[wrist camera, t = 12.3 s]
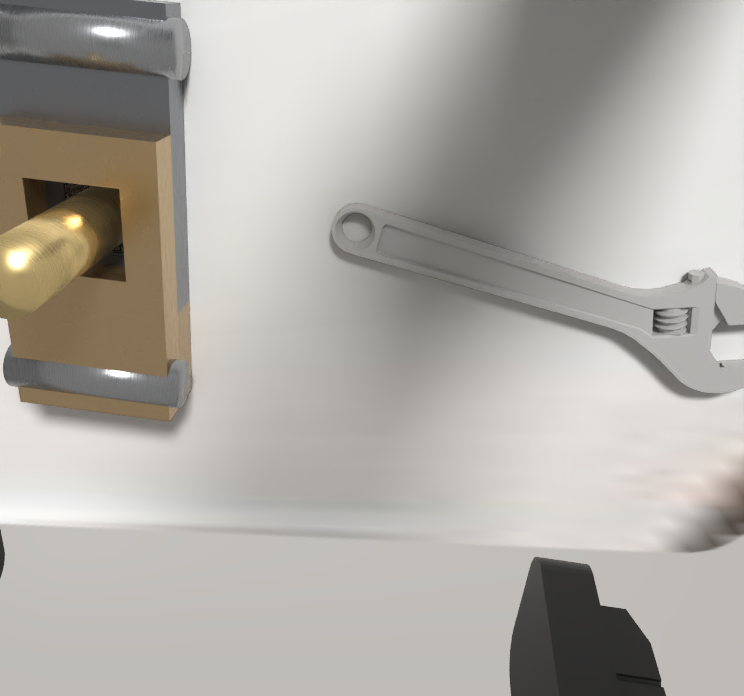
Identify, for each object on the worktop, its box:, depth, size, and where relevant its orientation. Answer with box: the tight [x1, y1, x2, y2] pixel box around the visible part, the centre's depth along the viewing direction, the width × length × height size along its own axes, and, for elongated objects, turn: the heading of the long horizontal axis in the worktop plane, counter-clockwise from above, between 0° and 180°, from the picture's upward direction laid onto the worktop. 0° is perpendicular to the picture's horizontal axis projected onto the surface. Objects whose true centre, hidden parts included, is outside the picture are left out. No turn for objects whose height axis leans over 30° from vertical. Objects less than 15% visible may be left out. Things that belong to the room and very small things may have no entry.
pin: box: [0, 186, 123, 319], centre depth 35 cm, size 3×3×11 cm
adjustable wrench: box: [331, 203, 744, 393], centre depth 39 cm, size 25×6×2 cm, turn 70°
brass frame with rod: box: [0, 0, 192, 421], centre depth 38 cm, size 22×10×4 cm, turn 175°
